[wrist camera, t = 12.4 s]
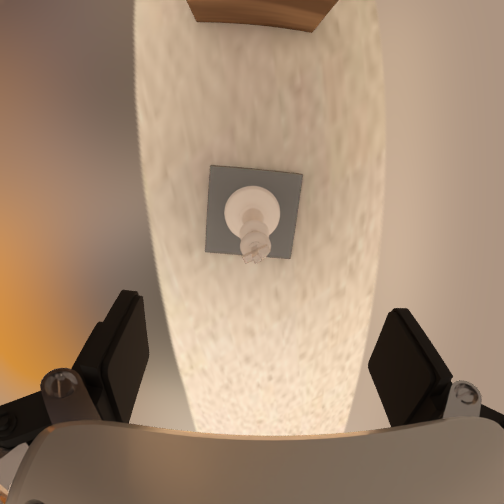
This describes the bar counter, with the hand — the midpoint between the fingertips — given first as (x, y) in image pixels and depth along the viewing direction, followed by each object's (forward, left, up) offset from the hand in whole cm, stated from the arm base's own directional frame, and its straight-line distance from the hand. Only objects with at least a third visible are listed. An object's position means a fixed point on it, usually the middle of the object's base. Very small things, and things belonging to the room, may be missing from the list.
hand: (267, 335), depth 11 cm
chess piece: (+1, 0, -18) cm, 18 cm away
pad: (+1, 0, -18) cm, 18 cm away
